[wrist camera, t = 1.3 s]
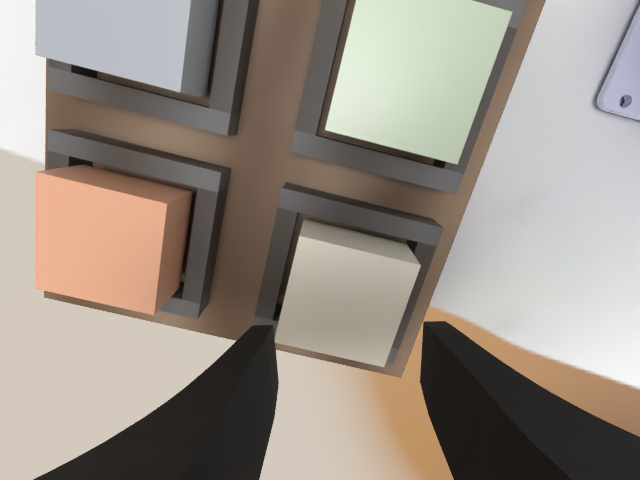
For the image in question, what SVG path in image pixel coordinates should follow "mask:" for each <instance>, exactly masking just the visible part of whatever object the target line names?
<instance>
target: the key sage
mask: <svg viewBox="0 0 640 480" xmlns="http://www.w3.org/2000/svg"><path fill="white" fill-rule="evenodd" d="M511 15H512V12H511V11H508V10H504V9H501V8H497V7H494V6H490V5H487V4H483V3H480V2H476V1H473V0H356V3H355V7H354V11H353V15H352V19H351V23H350V28H349V32H348V36H347V40H346V44H345V48H344V52H343V57H342V61H341V65H340V69H339V73H338V77H337V81H336V86H335V90H334V94H333V98H332V102H331V106H330V111H329V115H328V119H327V123H326V127H325V130H327V131H330V132H334V133H338V134H342V135H346V136H350V137H353V138H357V139H361V140H365V141H369V142H373V143H377V144H380V145H384V146H388V147H392V148H396V149H400V150H403V151H407V152H411V153H415V154H419V155H423V156H427V157H430V158H434V159H438V160H442V161H446V162H450V163H453V164H458V162H459V159H460V156H461V153H462V151H463V148H464V145H465V142H466V140H467V137H468V134H469V131H470V128H471V126H472V123H473V120H474V117H475V115H476V112H477V109H478V106H479V104H480V101H481V98H482V95H483V92H484V90H485V87H486V84H487V81H488V79H489V76H490V73H491V70H492V68H493V65H494V62H495V59H496V57H497V54H498V51H499V48H500V45H501V43H502V40H503V37H504V34H505V32H506V29H507V26H508V23H509V21H510V18H511Z"/></svg>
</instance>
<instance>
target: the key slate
mask: <svg viewBox="0 0 640 480" xmlns="http://www.w3.org/2000/svg"><path fill="white" fill-rule="evenodd" d="M218 6H219V0H36V55H38V56H42V57H46V58H50V59H54V60H57V61H61V62H65V63H69V64H73V65H77V66H80V67H84V68H88V69H92V70H96V71H100V72H104V73H107V74H111V75H115V76H119V77H123V78H127V79H130V80H134V81H138V82H142V83H146V84H150V85H153V86H157V87H161V88H165V89H169V90H173V91H177V92H180V93H185V94H189V95H193V96H198V97H202V98H206V93H207V86H208V78H209V71H210V64H211V57H212V49H213V42H214V35H215V28H216V20H217V13H218Z"/></svg>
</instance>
